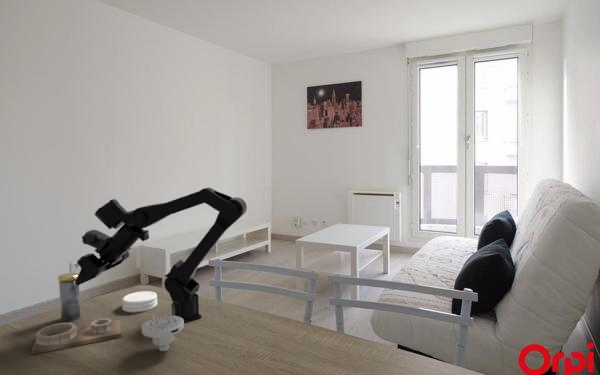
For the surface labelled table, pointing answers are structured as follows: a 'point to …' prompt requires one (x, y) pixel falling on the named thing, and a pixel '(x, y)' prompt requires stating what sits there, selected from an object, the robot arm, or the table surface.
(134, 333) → the table surface
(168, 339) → the showerhead
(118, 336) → the fitting board
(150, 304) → the white plate stack
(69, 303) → the grey lidded canister
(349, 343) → the table surface
